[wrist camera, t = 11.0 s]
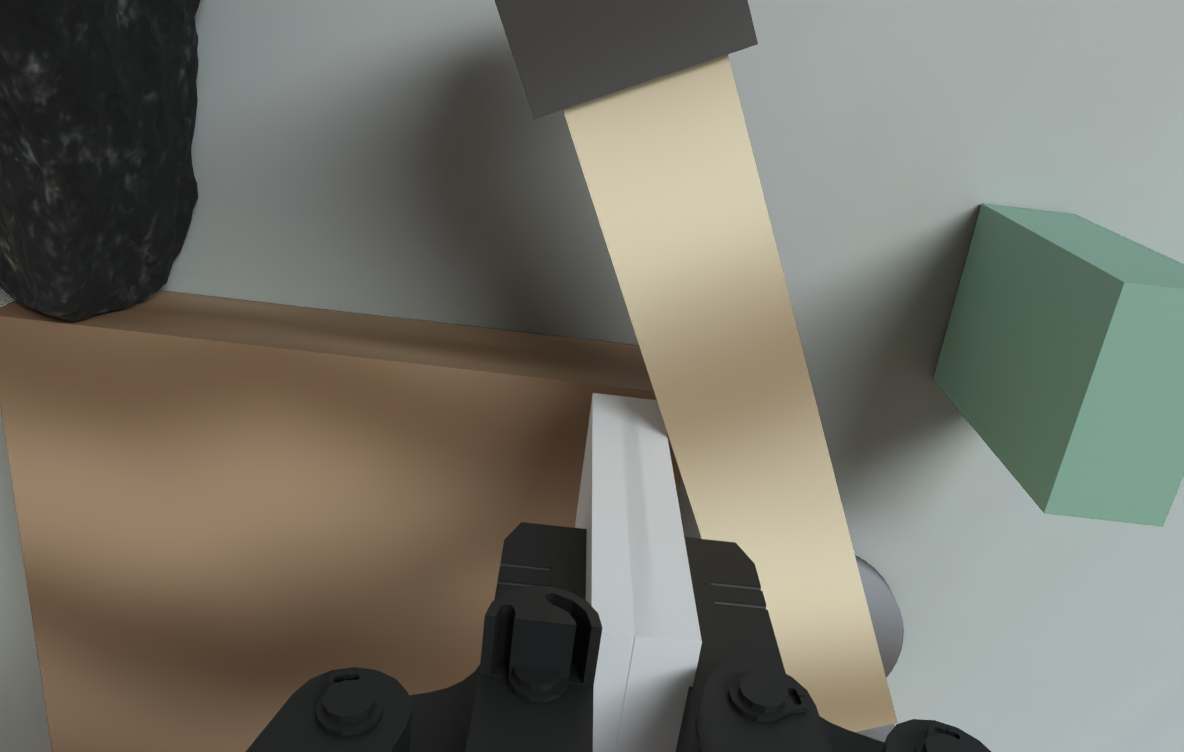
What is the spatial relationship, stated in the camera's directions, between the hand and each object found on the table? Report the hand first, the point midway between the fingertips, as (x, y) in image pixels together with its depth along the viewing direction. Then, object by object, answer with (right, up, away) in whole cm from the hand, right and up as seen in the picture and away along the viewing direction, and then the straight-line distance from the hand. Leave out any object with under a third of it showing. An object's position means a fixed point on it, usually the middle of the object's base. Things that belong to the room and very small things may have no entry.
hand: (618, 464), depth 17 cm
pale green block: (+8, +3, +3) cm, 10 cm away
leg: (+2, +3, +1) cm, 3 cm away
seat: (-3, -4, +6) cm, 8 cm away
